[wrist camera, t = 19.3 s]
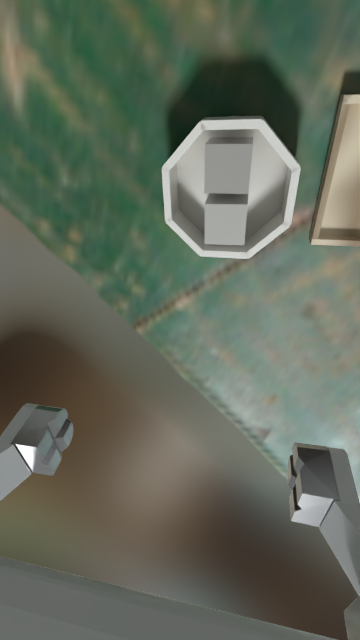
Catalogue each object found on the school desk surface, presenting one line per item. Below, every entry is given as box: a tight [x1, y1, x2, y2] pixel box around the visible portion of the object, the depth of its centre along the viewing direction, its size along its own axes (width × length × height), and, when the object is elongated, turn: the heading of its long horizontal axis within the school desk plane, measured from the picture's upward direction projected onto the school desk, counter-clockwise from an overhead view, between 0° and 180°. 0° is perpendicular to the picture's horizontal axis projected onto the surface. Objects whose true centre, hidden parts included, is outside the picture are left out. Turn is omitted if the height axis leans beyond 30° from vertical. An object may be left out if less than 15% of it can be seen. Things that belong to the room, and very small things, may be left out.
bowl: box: [162, 116, 301, 259], centre depth 31 cm, size 12×12×4 cm
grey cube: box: [205, 193, 248, 245], centre depth 32 cm, size 4×4×4 cm
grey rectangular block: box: [204, 137, 253, 194], centre depth 29 cm, size 4×4×4 cm
